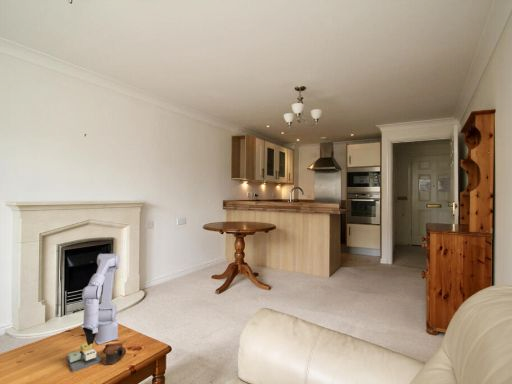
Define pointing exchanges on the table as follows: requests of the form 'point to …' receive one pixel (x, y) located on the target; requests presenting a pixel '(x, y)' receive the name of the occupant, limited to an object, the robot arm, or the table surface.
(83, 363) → the slate board
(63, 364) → the table surface
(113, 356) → the pottery mug
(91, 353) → the tile three ivory
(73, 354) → the tile one sage
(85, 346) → the tile two mustard
